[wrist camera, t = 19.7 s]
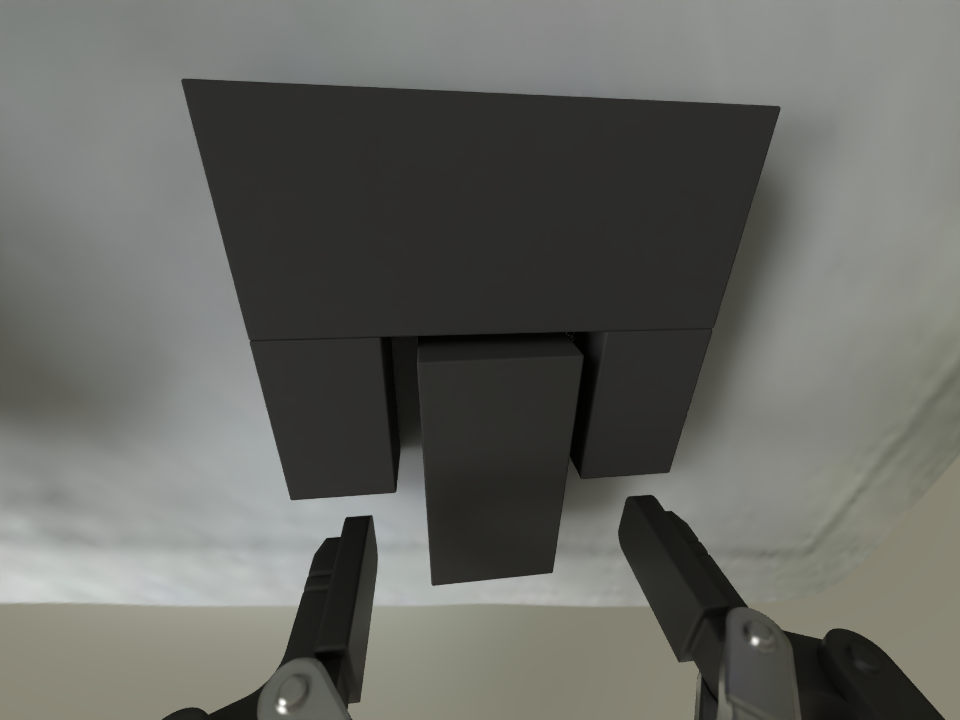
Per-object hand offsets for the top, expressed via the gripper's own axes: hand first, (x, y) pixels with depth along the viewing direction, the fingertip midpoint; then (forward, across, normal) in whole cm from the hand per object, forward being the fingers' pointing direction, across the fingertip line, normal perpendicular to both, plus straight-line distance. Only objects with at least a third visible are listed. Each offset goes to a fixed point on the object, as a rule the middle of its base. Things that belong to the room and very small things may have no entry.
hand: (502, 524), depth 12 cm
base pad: (+5, 0, -6) cm, 7 cm away
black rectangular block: (+5, 0, 0) cm, 5 cm away
